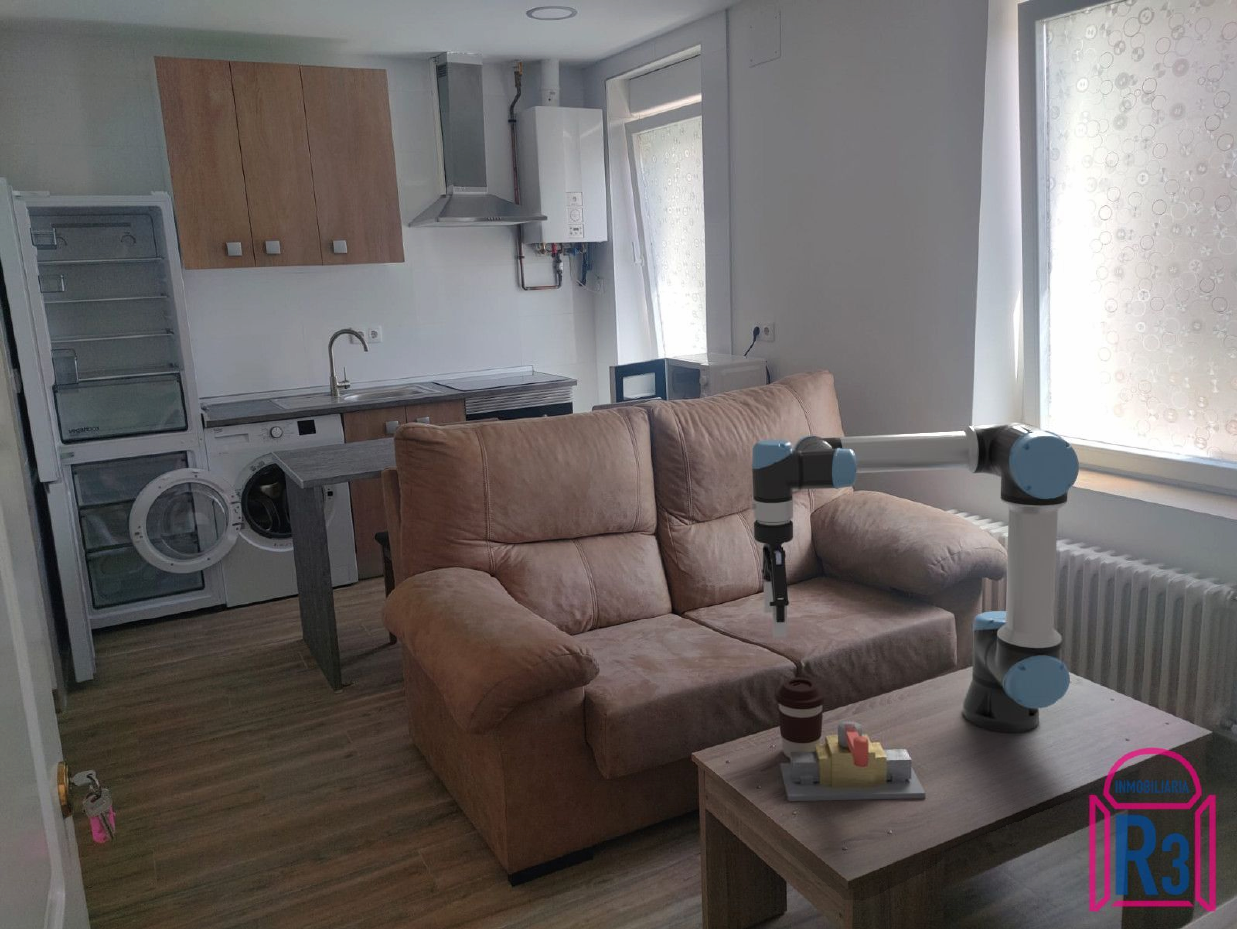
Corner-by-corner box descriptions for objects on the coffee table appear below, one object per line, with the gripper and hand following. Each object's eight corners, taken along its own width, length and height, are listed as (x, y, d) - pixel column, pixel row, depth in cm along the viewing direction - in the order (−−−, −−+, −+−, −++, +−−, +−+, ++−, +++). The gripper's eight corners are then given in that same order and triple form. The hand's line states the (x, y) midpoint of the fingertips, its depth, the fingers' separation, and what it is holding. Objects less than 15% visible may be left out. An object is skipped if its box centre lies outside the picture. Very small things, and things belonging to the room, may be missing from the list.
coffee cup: (826, 766, 183) (825, 696, 180) (775, 764, 185) (774, 694, 182) (825, 742, 192) (824, 674, 189) (777, 740, 194) (775, 673, 191)
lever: (835, 737, 177) (835, 709, 176) (859, 736, 177) (859, 708, 176) (850, 773, 164) (849, 744, 163) (875, 773, 164) (875, 743, 163)
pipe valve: (903, 766, 179) (903, 733, 178) (913, 786, 172) (913, 751, 171) (789, 769, 180) (788, 736, 179) (794, 788, 174) (793, 754, 172)
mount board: (908, 764, 182) (908, 760, 182) (925, 798, 170) (925, 793, 170) (780, 768, 183) (780, 763, 183) (788, 801, 171) (788, 796, 171)
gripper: (747, 505, 192) (750, 603, 196) (761, 538, 167) (763, 649, 171) (783, 504, 191) (785, 601, 195) (803, 536, 167) (804, 647, 171)
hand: (775, 624), depth 183 cm, fingers open, 13 cm apart
